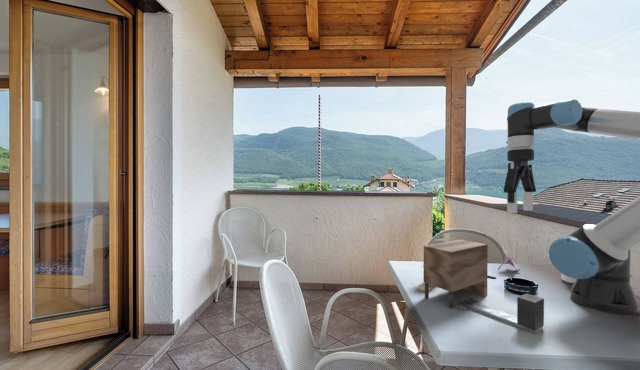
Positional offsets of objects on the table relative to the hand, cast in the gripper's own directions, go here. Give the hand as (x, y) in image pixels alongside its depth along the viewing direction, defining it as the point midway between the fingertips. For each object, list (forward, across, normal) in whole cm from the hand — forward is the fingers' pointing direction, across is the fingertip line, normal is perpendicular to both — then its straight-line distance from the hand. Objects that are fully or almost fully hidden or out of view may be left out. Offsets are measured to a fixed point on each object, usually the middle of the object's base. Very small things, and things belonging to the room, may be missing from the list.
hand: (520, 211), depth 99 cm
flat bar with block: (+28, +25, +3) cm, 38 cm away
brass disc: (+28, +24, -21) cm, 42 cm away
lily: (+28, -25, -12) cm, 39 cm away
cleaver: (+28, -5, -26) cm, 38 cm away
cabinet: (+28, +21, -11) cm, 37 cm away
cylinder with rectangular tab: (+28, -31, +8) cm, 42 cm away
